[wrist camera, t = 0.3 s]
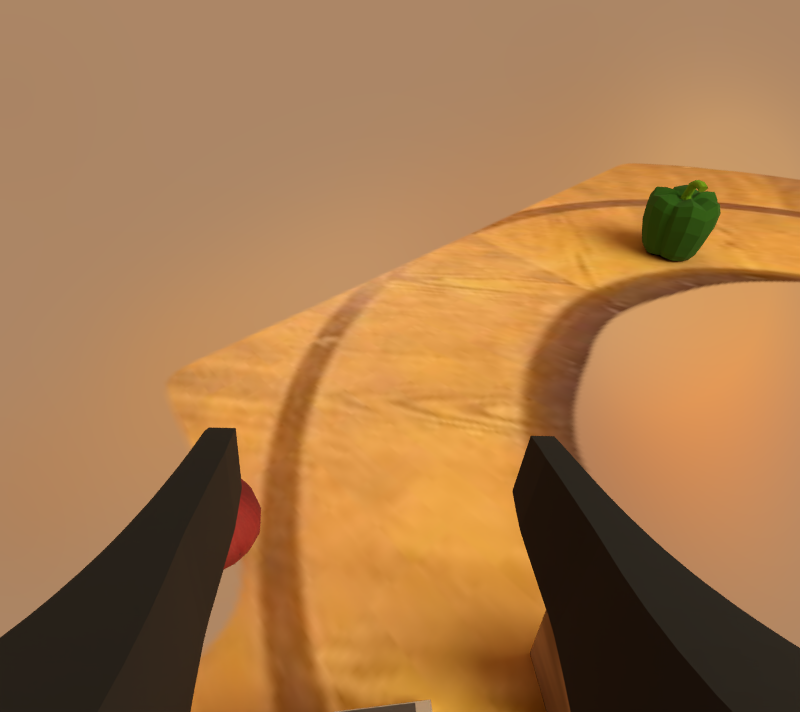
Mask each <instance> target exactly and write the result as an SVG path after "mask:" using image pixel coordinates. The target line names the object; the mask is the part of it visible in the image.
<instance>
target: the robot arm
mask: <svg viewBox="0 0 800 712" xmlns="http://www.w3.org/2000/svg"><path fill="white" fill-rule="evenodd" d="M241 490H242V483H241V474H240V465H239V455H238V446H237V437H236V428H208V429H207V430H205V431H204V432H203V434H202V435H201V437H200V438H199V440H198V441H197V442H196V444H195V445H194V447H193V448H192V449H191V451H190V452H189V453H188V455H187V456H186V457H185V459H184V460H183V461H182V462H181V464H180V465H179V467H178V468H177V469H176V470H175V471H174V473H173V474H172V475H171V476H170V478H169V479H168V480H167V481H166V482H165V484H164V485H163V486H162V487H161V488H160V490H159V491H158V492H157V493H156V495H155V496H154V497H153V498H152V499H151V500H150V502H149V503H148V504H147V505H146V506H145V507H144V508H143V509H142V510H141V512H140V513H139V514H138V515H137V516H136V517H135V518H134V519H133V520H132V522H130V524H129V525H128V526H127V527H126V528H125V529H124V530H123V531H122V532H121V533H120V534H119V535H118V536H117V537H116V538H115V539H114V540H113V541H112V542H111V543H110V544H109V545H108V546H107V547H106V548H105V549H104V550H103V551H102V552H101V553H100V554H99V555H98V556H97V557H96V558H95V559H94V560H93V561H92V562H91V563H89V564H88V565H87V566H86V567H85V568H84V569H83V570H82V571H81V572H80V573H79V574H78V575H76V576H75V577H74V578H73V579H72V580H71V581H69V582H68V583H67V584H66V585H65V586H64V587H63V588H61V589H60V591H58V592H57V593H56V594H55V595H53V596H52V597H51V598H50V599H49V600H48V601H46V602H45V603H44V604H43V605H41V606H40V607H39V608H38V609H37V610H36V611H34V612H33V613H32V614H31V615H29V616H28V617H27V618H25V619H24V620H23V621H21V622H20V623H19V624H17V625H16V626H15V627H14V628H12V629H11V630H10V631H8V632H7V633H6V634H4V635H3V636H2V637H1V638H0V712H190V711H191V705H192V699H193V694H194V688H195V683H196V678H197V673H198V667H199V662H200V657H201V652H202V647H203V641H204V637H205V633H206V629H207V625H208V621H209V617H210V613H211V610H212V607H213V603H214V600H215V597H216V593H217V589H218V586H219V583H220V579H221V576H222V573H223V569H224V566H225V562H226V559H227V555H228V552H229V548H230V545H231V541H232V538H233V534H234V530H235V526H236V520H237V515H238V509H239V503H240V496H241ZM513 496H514V502H515V507H516V513H517V518H518V522H519V527H520V531H521V534H522V537H523V541H524V544H525V547H526V550H527V553H528V556H529V559H530V562H531V565H532V568H533V571H534V574H535V577H536V580H537V583H538V586H539V589H540V592H541V595H542V598H543V601H544V604H545V607H546V610H547V613H548V616H549V620H550V623H551V627H552V630H553V634H554V638H555V642H556V647H557V651H558V655H559V660H560V664H561V669H562V673H563V678H564V682H565V687H566V692H567V697H568V702H569V707H570V712H800V648H799V647H797V646H796V645H794V644H792V643H791V642H789V641H788V640H786V639H785V638H783V637H782V636H780V635H779V634H777V633H775V632H774V631H772V630H771V629H769V628H768V627H766V626H765V625H763V624H762V623H760V622H759V621H757V620H756V619H754V618H753V617H751V616H750V615H749V614H747V613H746V612H744V611H742V610H741V609H740V608H738V607H737V606H736V605H734V604H733V603H731V602H730V601H729V600H727V599H726V598H725V597H723V596H722V595H721V594H719V593H718V592H717V591H715V590H714V589H712V588H711V587H710V586H709V585H707V584H706V583H705V582H703V581H702V580H701V579H699V578H698V577H697V576H695V575H694V574H693V573H692V572H690V571H689V570H688V569H687V568H686V567H685V566H683V565H682V564H681V563H680V562H679V561H677V560H676V559H675V558H674V557H673V556H671V555H670V554H669V553H668V552H667V551H665V550H664V549H663V548H662V547H661V546H660V545H659V544H658V543H656V542H655V541H654V540H653V539H652V538H651V537H650V536H649V535H648V534H647V533H646V532H645V531H643V529H641V528H640V527H639V526H638V525H637V524H636V523H635V522H634V521H633V520H632V519H631V518H630V517H629V516H628V515H627V514H626V513H625V512H624V511H623V510H622V509H621V508H620V507H619V506H618V505H617V504H616V503H615V502H614V501H613V500H612V499H611V498H610V497H609V496H608V495H607V494H606V493H605V492H604V491H603V489H602V488H601V487H600V486H599V485H598V484H597V483H596V482H595V481H594V480H593V479H592V478H591V476H590V475H589V474H588V473H587V472H586V471H585V470H584V469H583V468H582V467H581V465H580V464H579V463H578V462H577V461H576V460H575V459H574V458H573V457H572V455H571V454H570V453H569V452H568V451H567V450H566V449H565V448H564V447H563V445H562V444H561V443H560V442H559V441H558V440H557V439H556V438H555V437H554V436H531V437H530V440H529V443H528V446H527V449H526V452H525V455H524V458H523V461H522V464H521V467H520V470H519V473H518V476H517V479H516V482H515V485H514V488H513Z"/></svg>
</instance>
